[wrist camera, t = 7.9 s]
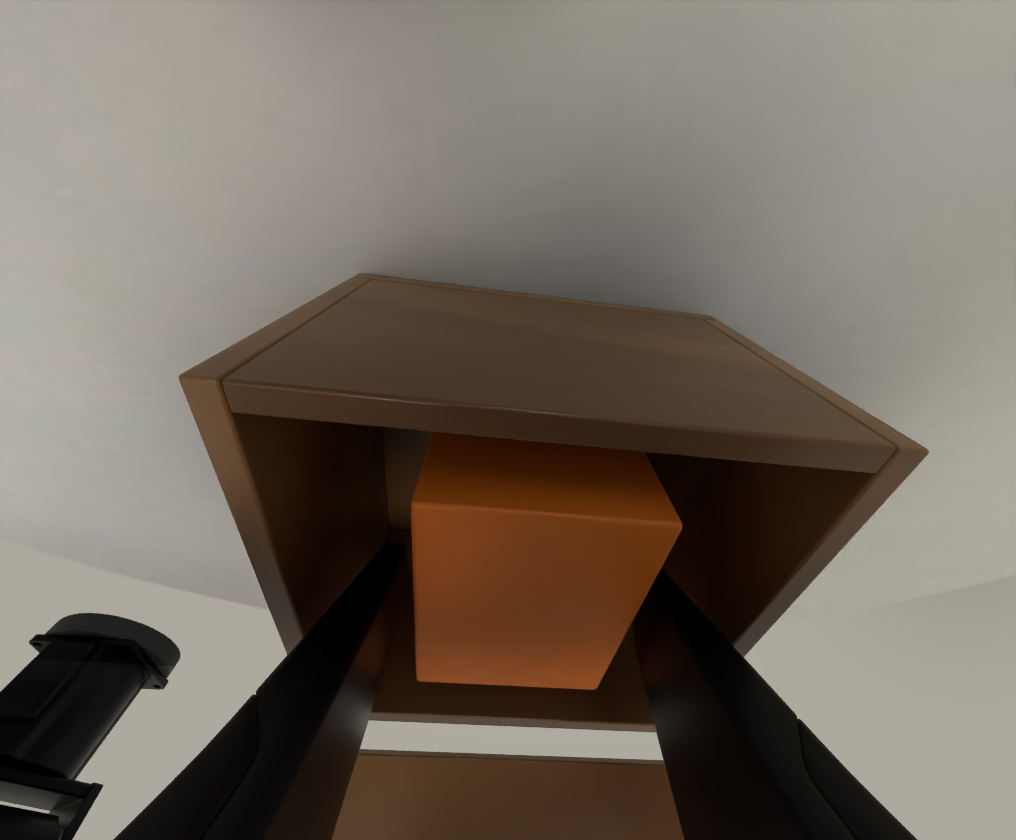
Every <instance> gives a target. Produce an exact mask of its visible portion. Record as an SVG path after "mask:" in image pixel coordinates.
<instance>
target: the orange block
mask: <svg viewBox="0 0 1016 840" xmlns="http://www.w3.org/2000/svg"><path fill="white" fill-rule="evenodd" d="M681 530H682V522H681V520H680V518H679V516H678V514H677V512H676V510H675V509H674V507H673V505H672V503H671V501H670V499H669V497H668V495H667V494H666V492H665V490H664V488H663V486H662V484H661V482H660V480H659V478H658V477H657V475H656V473H655V471H654V469H653V467H652V465H651V463H650V462H649V460H648V458H647V456H646V454H645V452H642V451H631V450H620V449H610V448H599V447H589V446H578V445H568V444H557V443H546V442H536V441H525V440H515V439H504V438H494V437H483V436H472V435H462V434H451V433H441V432H432V435H431V438H430V442H429V445H428V448H427V452H426V455H425V458H424V462H423V465H422V468H421V471H420V475H419V478H418V481H417V485H416V488H415V491H414V494H413V498H412V501H411V531H412V563H413V594H414V625H415V656H416V679H417V680H418V681H422V682H442V683H463V684H484V685H505V686H525V687H546V688H567V689H588V690H595V689H597V687H598V685H599V684H600V682H601V680H602V678H603V676H604V674H605V672H606V670H607V669H608V667H609V665H610V663H611V661H612V659H613V657H614V655H615V654H616V652H617V650H618V648H619V646H620V644H621V642H622V640H623V639H624V637H625V635H626V633H627V631H628V629H629V627H630V625H631V624H632V622H633V620H634V618H635V616H636V614H637V612H638V610H639V609H640V607H641V605H642V603H643V601H644V599H645V597H646V595H647V594H648V592H649V590H650V588H651V586H652V584H653V582H654V581H655V579H656V577H657V575H658V573H659V571H660V569H661V567H662V566H663V564H664V562H665V560H666V558H667V556H668V554H669V552H670V551H671V549H672V547H673V545H674V543H675V541H676V539H677V537H678V536H679V534H680V532H681Z"/></svg>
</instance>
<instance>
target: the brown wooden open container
mask: <svg viewBox="0 0 1016 840" xmlns="http://www.w3.org/2000/svg"><path fill="white" fill-rule="evenodd" d="M179 380H180V383H181V386H182V388H183V391H184V393H185V396H186V398H187V401H188V403H189V406H190V408H191V411H192V414H193V416H194V419H195V421H196V424H197V426H198V429H199V431H200V434H201V436H202V439H203V441H204V444H205V447H206V449H207V452H208V454H209V457H210V459H211V462H212V464H213V467H214V469H215V472H216V475H217V477H218V480H219V482H220V485H221V487H222V490H223V492H224V495H225V497H226V500H227V503H228V505H229V508H230V510H231V513H232V515H233V518H234V520H235V523H236V525H237V528H238V530H239V533H240V536H241V538H242V541H243V543H244V546H245V548H246V551H247V553H248V556H249V558H250V561H251V564H252V566H253V569H254V571H255V574H256V576H257V579H258V581H259V584H260V586H261V589H262V592H263V594H264V597H265V599H266V602H267V604H268V607H269V609H270V612H271V614H272V617H273V619H274V622H275V625H276V627H277V629H278V632H279V635H280V637H281V640H282V642H283V645H284V647H285V650H286V653H287V655H288V654H289V653H290V652H291V651H292V649H293V648H294V647H295V646H296V645H297V644H298V643H299V641H300V640H301V639H302V638H303V637H304V636H305V635H306V633H307V632H308V631H309V630H310V629H311V628H312V627H313V626H314V624H315V623H316V622H317V621H318V620H319V619H320V618H321V616H322V615H323V614H324V613H325V612H326V611H327V610H328V608H329V607H330V606H331V605H332V604H333V603H334V602H335V600H336V599H337V598H338V597H339V596H340V595H341V594H342V593H343V591H344V590H345V589H346V588H347V587H348V586H349V585H350V583H351V582H352V581H353V580H354V579H355V578H356V577H357V575H358V574H359V573H360V572H361V571H362V570H363V569H364V567H365V566H366V565H367V564H368V563H369V562H370V561H371V560H372V558H373V557H374V556H375V555H376V554H377V553H378V552H379V550H380V549H381V548H382V547H383V546H384V545H385V544H386V543H387V542H389V541H393V542H404V543H405V544H406V551H407V572H406V577H405V583H404V588H403V593H402V598H401V603H400V608H399V613H398V618H397V623H396V628H395V633H394V637H393V642H392V646H391V649H390V653H389V656H388V659H387V663H386V666H385V669H384V672H383V675H382V679H381V682H380V685H379V688H378V692H377V695H376V698H375V701H374V704H373V708H372V711H371V714H370V717H369V720H377V721H401V722H424V723H449V724H471V725H495V726H496V725H497V726H519V727H542V728H543V727H544V728H566V729H568V728H569V729H591V730H613V731H614V730H615V731H637V732H638V731H639V732H656V728H655V725H654V721H653V717H652V713H651V709H650V705H649V701H648V697H647V694H646V690H645V686H644V682H643V678H642V674H641V670H640V666H639V662H638V658H637V652H636V647H635V640H634V634H633V627H632V624H631V625H630V627H629V629H628V631H627V633H626V635H625V637H624V639H623V640H622V642H621V644H620V646H619V648H618V650H617V652H616V654H615V655H614V657H613V659H612V661H611V663H610V665H609V667H608V669H607V670H606V672H605V674H604V676H603V678H602V680H601V682H600V684H599V685H598V687H597V689H595V690H588V689H567V688H546V687H525V686H505V685H484V684H463V683H442V682H422V681H418V680H417V679H416V656H415V625H414V594H413V563H412V531H411V501H412V498H413V494H414V491H415V488H416V485H417V481H418V478H419V475H420V471H421V468H422V465H423V462H424V458H425V455H426V452H427V448H428V445H429V442H430V438H431V435H432V432H441V433H451V434H462V435H472V436H483V437H494V438H504V439H515V440H525V441H536V442H546V443H557V444H568V445H578V446H589V447H599V448H610V449H620V450H631V451H642V452H645V454H646V456H647V458H648V460H649V462H650V463H651V465H652V467H653V469H654V471H655V473H656V475H657V477H658V478H659V480H660V482H661V484H662V486H663V488H664V490H665V492H666V494H667V495H668V497H669V499H670V501H671V503H672V505H673V507H674V509H675V510H676V512H677V514H678V516H679V518H680V520H681V522H682V530H681V532H680V534H679V536H678V537H677V539H676V541H675V543H674V545H673V547H672V549H671V551H670V552H669V554H668V556H667V558H666V560H665V562H664V564H663V566H662V567H661V568H662V569H663V570H664V571H665V572H666V573H667V574H668V575H669V576H670V578H671V579H672V580H673V581H674V582H675V583H676V584H677V585H678V586H679V587H680V589H681V590H682V591H683V592H684V593H685V594H686V595H687V596H688V597H689V598H690V599H691V601H692V602H693V603H694V604H695V605H696V606H697V607H698V608H699V609H700V610H701V611H702V613H703V614H704V615H705V616H706V617H707V618H708V619H709V620H710V621H711V622H712V623H713V625H714V626H715V627H716V628H717V629H718V630H719V631H720V632H721V633H722V634H723V635H724V637H725V638H726V639H727V640H728V641H729V642H730V643H731V644H732V645H733V646H734V647H735V649H736V650H737V651H738V652H739V653H740V654H741V655H742V656H743V657H744V656H745V655H746V654H747V653H748V652H749V651H750V650H751V649H752V647H753V646H754V645H755V644H756V643H757V642H758V641H759V640H760V639H761V638H762V636H763V635H764V634H765V633H766V632H767V631H768V630H769V629H770V627H772V625H773V624H774V623H775V622H776V621H777V620H778V619H779V618H780V617H781V615H782V614H783V613H784V612H785V611H786V610H787V609H788V608H789V607H790V606H791V604H792V603H793V602H794V601H795V600H796V599H797V598H798V597H799V596H800V595H801V593H802V592H803V591H804V590H805V589H806V588H807V587H808V586H809V585H810V584H811V582H812V581H813V580H814V579H815V578H816V577H817V576H818V575H819V574H820V573H821V571H822V570H823V569H824V568H825V567H826V566H827V565H828V564H829V563H830V562H831V560H832V559H833V558H834V557H835V556H836V555H837V554H838V553H839V552H840V551H841V549H842V548H843V547H844V546H845V545H846V544H847V543H848V542H849V541H850V539H851V538H852V537H853V536H854V535H855V534H856V533H857V532H858V531H859V530H860V528H861V527H862V526H863V525H864V524H865V523H866V522H867V521H868V520H869V519H870V517H871V516H872V515H873V514H874V513H875V512H876V511H877V510H878V509H879V508H880V506H881V505H882V504H883V503H884V502H885V501H886V500H887V499H888V498H889V497H890V495H891V494H892V493H893V492H894V491H895V490H896V489H897V488H898V487H899V486H900V484H901V483H902V482H903V481H904V480H905V479H906V478H907V477H908V476H909V474H910V473H911V472H912V471H913V470H914V469H915V468H916V467H917V466H918V465H919V463H920V462H921V461H922V460H923V459H924V458H925V457H926V456H927V455H928V453H929V451H928V450H927V449H926V448H924V447H923V446H921V445H920V444H918V443H916V442H915V441H913V440H911V439H910V438H908V437H907V436H905V435H903V434H902V433H900V432H898V431H897V430H895V429H894V428H892V427H890V426H889V425H887V424H885V423H884V422H882V421H880V420H879V419H877V418H876V417H874V416H872V415H871V414H869V413H867V412H866V411H864V410H863V409H861V408H859V407H858V406H856V405H854V404H853V403H851V402H850V401H848V400H846V399H845V398H843V397H841V396H840V395H838V394H837V393H835V392H833V391H832V390H830V389H828V388H827V387H825V386H823V385H822V384H820V383H819V382H817V381H815V380H814V379H812V378H810V377H809V376H807V375H806V374H804V373H802V372H801V371H799V370H797V369H796V368H794V367H793V366H791V365H789V364H788V363H786V362H784V361H783V360H781V359H779V358H778V357H776V356H775V355H773V354H771V353H770V352H768V351H766V350H765V349H763V348H762V347H760V346H758V345H757V344H755V343H753V342H752V341H750V340H749V339H747V338H745V337H744V336H742V335H740V334H739V333H737V332H736V331H734V330H732V329H731V328H729V327H727V326H726V325H724V324H722V323H721V322H719V321H718V320H716V319H714V318H713V317H711V316H706V315H697V314H689V313H681V312H673V311H664V310H656V309H648V308H640V307H632V306H623V305H615V304H607V303H599V302H590V301H582V300H574V299H566V298H557V297H549V296H541V295H533V294H524V293H516V292H508V291H500V290H492V289H483V288H475V287H467V286H459V285H450V284H442V283H434V282H426V281H417V280H409V279H401V278H393V277H384V276H376V275H368V274H358V275H356V276H354V277H353V278H350V279H349V280H347V281H345V282H343V283H342V284H340V285H338V286H336V287H335V288H333V289H331V290H329V291H327V292H326V293H324V294H322V295H320V296H319V297H317V298H315V299H313V300H312V301H310V302H308V303H306V304H304V305H303V306H301V307H299V308H297V309H296V310H294V311H292V312H290V313H289V314H287V315H285V316H283V317H281V318H280V319H278V320H276V321H274V322H273V323H271V324H269V325H267V326H265V327H264V328H262V329H260V330H258V331H257V332H255V333H253V334H251V335H250V336H248V337H246V338H244V339H242V340H241V341H239V342H237V343H235V344H234V345H232V346H230V347H228V348H227V349H225V350H223V351H221V352H219V353H218V354H216V355H214V356H212V357H211V358H209V359H207V360H205V361H204V362H202V363H200V364H198V365H196V366H195V367H193V368H191V369H189V370H188V371H186V372H184V373H182V374H181V375H180V376H179Z"/></svg>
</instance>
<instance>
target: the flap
mask: <svg viewBox="0 0 1016 840" xmlns="http://www.w3.org/2000/svg"><path fill="white" fill-rule="evenodd" d="M331 840H684V837H683V833H682V829H681V825H680V821H679V818H678V814H677V810H676V806H675V802H674V798H673V794H672V790H671V787H670V783H669V779H668V775H667V771H666V767H665V763H664V760H638V759H636V760H635V759H610V758H583V757H557V756H556V757H555V756H554V757H553V756H528V755H503V754H474V753H449V752H422V751H395V750H368V749H359V753H358V756H357V759H356V762H355V765H354V769H353V772H352V775H351V778H350V781H349V785H348V788H347V791H346V794H345V797H344V801H343V804H342V807H341V810H340V813H339V817H338V820H337V823H336V826H335V830H334V833H333V836H332V839H331Z"/></svg>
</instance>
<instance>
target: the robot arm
mask: <svg viewBox="0 0 1016 840" xmlns="http://www.w3.org/2000/svg"><path fill="white" fill-rule="evenodd" d="M406 572H407V551H406V544H405V543H404V542H393V541H389V542H387V543H386V544H385V545H384V546H383V547H382V548H381V549H380V550H379V552H378V553H377V554H376V555H375V556H374V557H373V558H372V560H371V561H370V562H369V563H368V564H367V565H366V566H365V567H364V569H363V570H362V571H361V572H360V573H359V574H358V575H357V577H356V578H355V579H354V580H353V581H352V582H351V583H350V585H349V586H348V587H347V588H346V589H345V590H344V591H343V593H342V594H341V595H340V596H339V597H338V598H337V599H336V600H335V602H334V603H333V604H332V605H331V606H330V607H329V608H328V610H327V611H326V612H325V613H324V614H323V615H322V616H321V618H320V619H319V620H318V621H317V622H316V623H315V624H314V626H313V627H312V628H311V629H310V630H309V631H308V632H307V633H306V635H305V636H304V637H303V638H302V639H301V640H300V641H299V643H298V644H297V645H296V646H295V647H294V648H293V649H292V651H291V652H290V653H289V654H288V655H287V656H286V657H285V659H284V660H283V661H282V662H281V663H280V664H279V665H278V666H277V668H276V669H275V670H274V671H273V672H272V673H271V674H270V676H269V677H268V678H267V679H266V680H265V681H264V682H263V684H262V685H261V686H260V687H259V688H258V689H257V691H256V695H252V696H251V697H250V698H249V699H248V700H247V701H246V703H245V704H244V705H243V706H242V707H241V708H240V709H239V711H238V712H237V713H236V714H235V715H234V716H233V717H232V719H231V720H230V721H229V722H228V723H227V724H226V725H225V726H224V727H223V728H222V730H221V731H220V732H219V733H218V734H217V735H216V736H215V737H214V738H213V739H212V740H211V742H210V743H209V744H208V745H207V746H206V747H205V748H204V749H203V750H202V751H201V753H200V754H199V755H198V756H197V757H196V758H195V759H194V760H193V761H192V762H191V763H190V764H189V765H188V766H187V767H186V768H185V769H184V770H183V771H182V772H181V773H180V774H179V775H178V776H177V777H176V778H175V779H174V780H173V781H172V782H171V783H170V784H169V785H168V786H167V787H166V788H165V789H164V790H163V791H162V792H161V793H160V794H159V795H158V796H157V797H156V798H155V799H154V800H153V801H152V802H151V803H150V804H149V805H148V806H147V807H146V808H145V809H144V810H143V811H142V812H141V813H140V814H139V815H138V816H137V817H136V818H135V819H134V820H133V821H132V822H131V823H130V824H129V825H128V826H127V827H126V828H125V829H124V830H123V831H122V832H121V833H120V834H119V835H118V836H117V837H116V838H115V839H114V840H331V839H332V836H333V833H334V830H335V826H336V823H337V820H338V817H339V813H340V810H341V807H342V804H343V801H344V797H345V794H346V791H347V788H348V785H349V781H350V778H351V775H352V772H353V769H354V765H355V762H356V759H357V756H358V753H359V749H360V746H361V743H362V740H363V736H364V733H365V730H366V727H367V723H368V720H369V717H370V714H371V711H372V708H373V704H374V701H375V698H376V695H377V692H378V688H379V685H380V682H381V679H382V675H383V672H384V669H385V666H386V663H387V659H388V656H389V653H390V649H391V646H392V642H393V637H394V633H395V628H396V623H397V618H398V613H399V608H400V603H401V598H402V593H403V588H404V583H405V577H406ZM632 627H633V634H634V640H635V647H636V652H637V658H638V662H639V666H640V670H641V674H642V678H643V682H644V686H645V690H646V694H647V697H648V701H649V705H650V709H651V713H652V717H653V721H654V725H655V728H656V732H657V736H658V740H659V744H660V748H661V752H662V755H663V759H664V763H665V767H666V771H667V775H668V779H669V783H670V787H671V790H672V794H673V798H674V802H675V806H676V810H677V814H678V818H679V821H680V825H681V829H682V833H683V837H684V840H917V839H916V838H915V837H914V836H913V835H912V834H911V833H910V832H909V831H908V830H907V829H906V828H905V827H904V826H903V825H902V824H901V823H900V822H899V821H898V820H897V819H896V818H895V817H894V816H893V815H892V814H891V813H890V812H889V811H888V810H887V809H886V808H885V807H884V806H883V805H882V804H881V803H880V802H879V801H878V800H876V798H875V797H874V796H873V795H872V794H871V793H870V792H869V791H868V790H867V789H866V788H865V787H864V786H863V785H862V784H861V783H860V782H859V781H858V780H857V779H856V778H855V777H854V776H853V775H852V774H851V773H850V772H849V771H848V770H847V769H846V768H845V767H844V766H843V765H842V764H841V762H840V761H839V760H838V759H837V758H836V757H835V756H834V755H833V754H832V753H831V752H830V751H829V750H828V749H827V748H826V747H825V745H824V744H823V743H822V742H821V741H820V740H819V739H818V738H817V737H816V736H815V735H814V734H813V733H812V731H811V730H810V729H809V728H808V727H807V726H806V725H805V724H804V723H803V722H802V721H801V720H800V719H797V716H796V714H795V713H794V712H793V711H792V710H791V709H790V708H789V707H788V705H787V704H786V703H785V702H784V701H783V700H782V699H781V698H780V697H779V696H778V694H777V693H775V691H774V690H773V689H772V688H771V687H770V686H769V685H768V684H767V683H766V681H765V680H764V679H763V678H762V677H761V676H760V675H759V674H758V673H757V672H756V670H755V669H754V668H753V667H752V666H751V665H750V664H749V663H748V662H747V661H746V660H745V659H744V657H743V656H742V655H741V654H740V653H739V652H738V651H737V650H736V649H735V647H734V646H733V645H732V644H731V643H730V642H729V641H728V640H727V639H726V638H725V637H724V635H723V634H722V633H721V632H720V631H719V630H718V629H717V628H716V627H715V626H714V625H713V623H712V622H711V621H710V620H709V619H708V618H707V617H706V616H705V615H704V614H703V613H702V611H701V610H700V609H699V608H698V607H697V606H696V605H695V604H694V603H693V602H692V601H691V599H690V598H689V597H688V596H687V595H686V594H685V593H684V592H683V591H682V590H681V589H680V587H679V586H678V585H677V584H676V583H675V582H674V581H673V580H672V579H671V578H670V576H669V575H668V574H667V573H666V572H665V571H664V570H663V569H662V568H661V569H660V571H659V573H658V575H657V577H656V579H655V581H654V582H653V584H652V586H651V588H650V590H649V592H648V594H647V595H646V597H645V599H644V601H643V603H642V605H641V607H640V609H639V610H638V612H637V614H636V616H635V618H634V620H633V622H632ZM29 644H30V645H31V646H33V647H34V648H35V649H36V650H37V651H38V652H39V654H38V655H37V656H36V657H35V658H34V659H33V660H32V661H31V662H30V663H29V664H28V665H27V666H26V667H25V668H24V669H23V670H22V671H21V672H20V673H19V674H18V675H17V676H16V677H15V678H14V679H13V680H12V681H11V682H10V683H9V684H8V685H7V686H6V687H5V688H4V689H3V690H2V691H1V692H0V801H4V802H9V803H14V804H19V805H24V806H29V807H34V808H39V809H44V810H49V811H50V812H49V814H46V813H41V812H36V811H31V810H26V809H21V808H15V807H10V806H5V805H0V840H72V839H73V837H74V836H75V834H76V832H77V830H78V829H79V827H80V825H81V823H82V822H83V820H84V818H85V817H86V815H87V813H88V811H89V809H90V808H91V806H92V805H93V803H94V801H95V799H96V798H97V796H98V794H99V792H100V791H101V789H102V787H103V785H102V784H98V783H92V784H88V783H84V782H80V781H76V780H75V779H76V778H77V776H78V775H79V774H80V772H81V771H82V769H83V768H84V767H85V765H86V764H87V763H88V761H89V760H90V758H91V757H92V756H93V754H94V753H95V752H96V750H97V749H98V748H99V746H100V745H101V744H102V742H103V741H104V739H105V738H106V736H107V735H108V734H109V733H110V731H111V730H112V729H113V727H114V725H115V724H116V723H117V722H118V720H119V719H120V717H121V716H122V715H123V713H124V712H125V711H126V709H127V708H128V707H129V705H130V704H131V702H132V701H133V700H134V698H135V697H136V696H137V694H138V693H139V692H140V690H141V689H164V688H165V686H166V685H167V683H168V680H167V679H166V677H165V676H164V675H163V674H162V672H161V671H160V670H159V669H158V667H157V666H156V665H155V664H154V662H153V661H152V660H151V659H150V657H149V656H148V655H147V653H146V652H145V651H144V650H143V648H142V647H141V646H140V645H139V643H138V642H136V641H134V640H131V639H120V638H102V637H83V636H65V635H47V634H37V635H35V636H34V637H33V638H32V639H31V640H30V641H29Z"/></svg>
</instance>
